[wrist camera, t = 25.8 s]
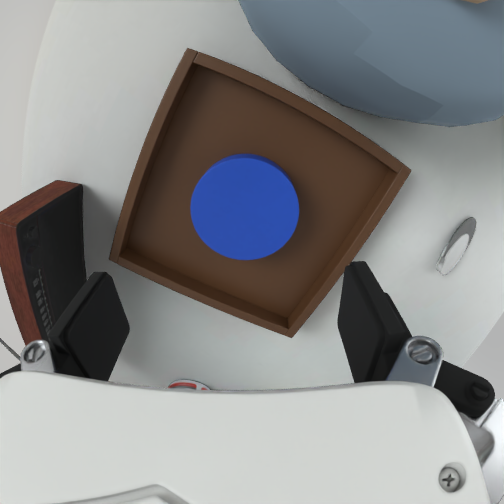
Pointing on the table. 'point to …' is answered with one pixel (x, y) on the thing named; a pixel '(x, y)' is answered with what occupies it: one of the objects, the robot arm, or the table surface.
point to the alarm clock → (392, 54)
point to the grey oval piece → (456, 246)
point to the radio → (42, 256)
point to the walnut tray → (271, 147)
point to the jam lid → (245, 207)
